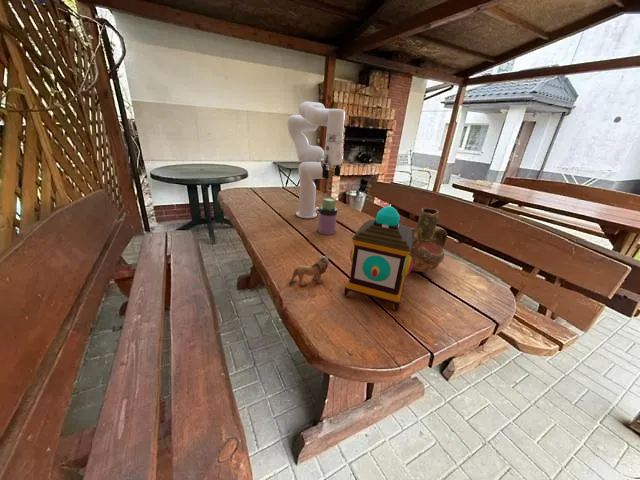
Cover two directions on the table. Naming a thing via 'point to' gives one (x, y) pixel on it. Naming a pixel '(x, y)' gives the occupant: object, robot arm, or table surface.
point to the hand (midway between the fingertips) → (331, 177)
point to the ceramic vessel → (427, 242)
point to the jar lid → (328, 211)
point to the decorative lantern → (381, 257)
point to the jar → (327, 224)
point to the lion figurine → (311, 270)
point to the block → (329, 204)
